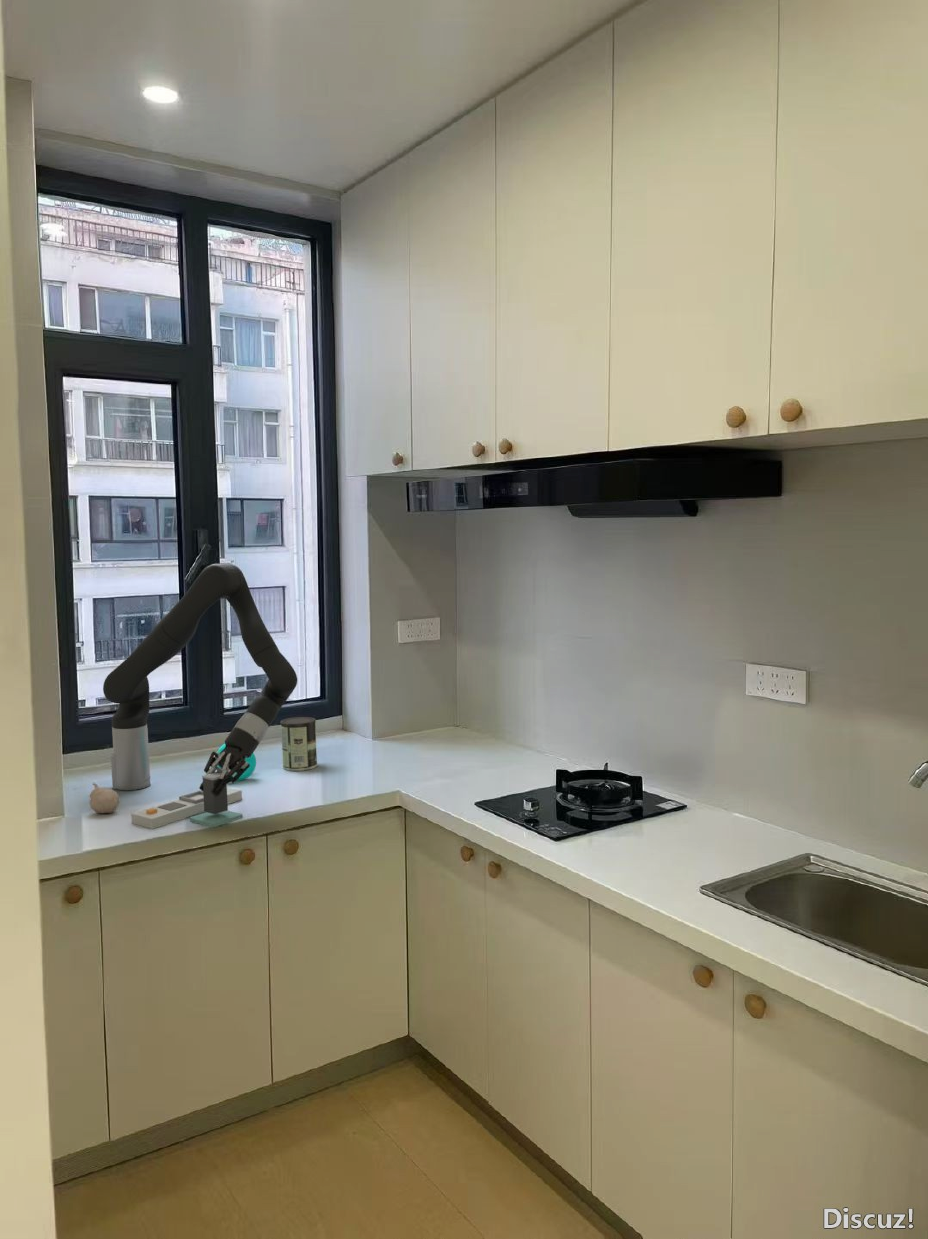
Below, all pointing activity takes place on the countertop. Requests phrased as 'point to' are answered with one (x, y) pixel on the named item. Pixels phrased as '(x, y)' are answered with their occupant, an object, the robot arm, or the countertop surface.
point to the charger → (211, 801)
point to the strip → (177, 809)
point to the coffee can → (299, 743)
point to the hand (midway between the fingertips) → (208, 792)
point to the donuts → (250, 761)
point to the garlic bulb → (104, 800)
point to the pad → (216, 818)
